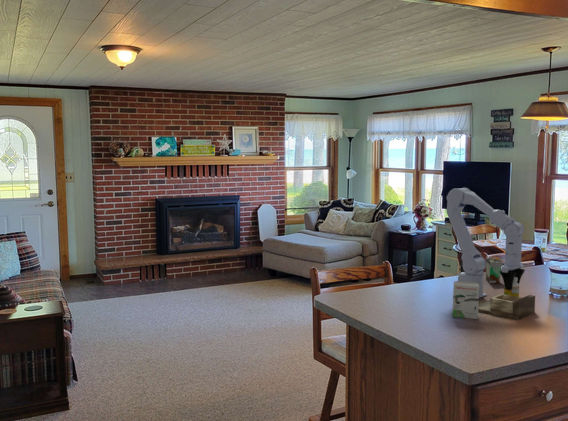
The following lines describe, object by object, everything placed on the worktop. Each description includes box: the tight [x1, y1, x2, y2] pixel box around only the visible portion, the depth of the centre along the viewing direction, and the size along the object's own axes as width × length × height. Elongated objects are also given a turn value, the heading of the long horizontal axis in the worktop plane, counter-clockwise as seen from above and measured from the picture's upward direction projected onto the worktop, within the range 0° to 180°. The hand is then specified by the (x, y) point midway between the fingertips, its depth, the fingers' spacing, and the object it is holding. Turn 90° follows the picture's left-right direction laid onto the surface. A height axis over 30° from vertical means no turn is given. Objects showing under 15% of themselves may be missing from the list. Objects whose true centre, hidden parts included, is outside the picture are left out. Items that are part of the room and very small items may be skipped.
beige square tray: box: [489, 293, 522, 314], centre depth 198 cm, size 9×9×4 cm
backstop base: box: [478, 294, 536, 321], centre depth 200 cm, size 19×14×6 cm
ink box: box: [451, 280, 480, 320], centre depth 192 cm, size 9×5×12 cm, turn 73°
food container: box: [485, 257, 504, 285], centre depth 246 cm, size 12×6×10 cm, turn 168°
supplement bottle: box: [503, 277, 520, 297], centre depth 211 cm, size 5×5×10 cm
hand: (511, 288), depth 211 cm, fingers closed on supplement bottle, 5 cm apart
